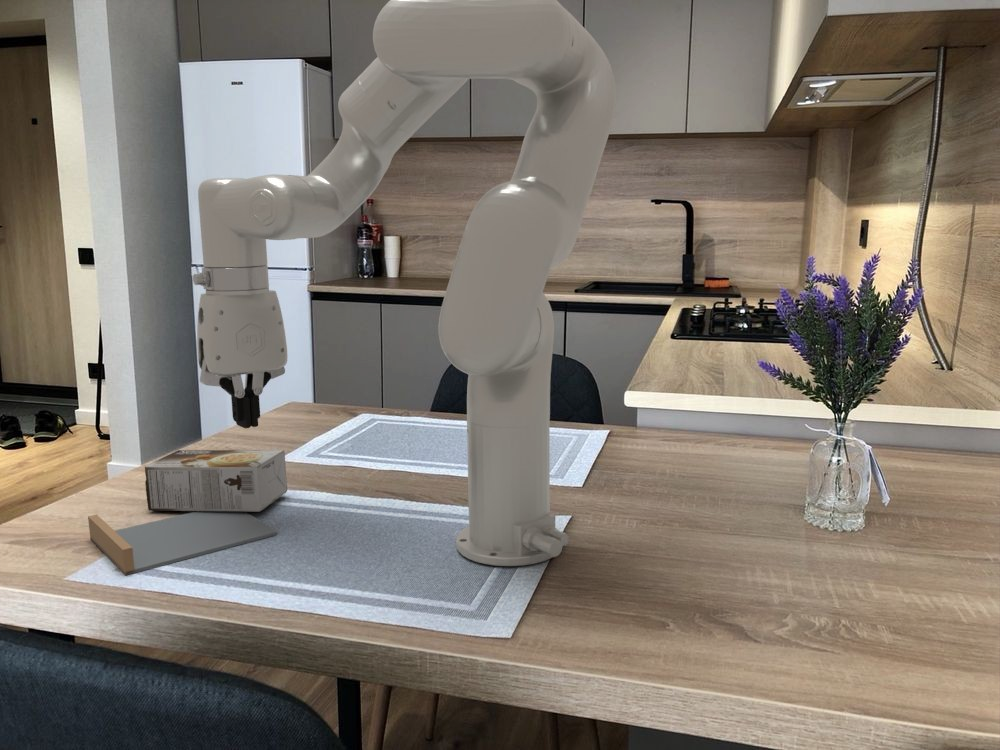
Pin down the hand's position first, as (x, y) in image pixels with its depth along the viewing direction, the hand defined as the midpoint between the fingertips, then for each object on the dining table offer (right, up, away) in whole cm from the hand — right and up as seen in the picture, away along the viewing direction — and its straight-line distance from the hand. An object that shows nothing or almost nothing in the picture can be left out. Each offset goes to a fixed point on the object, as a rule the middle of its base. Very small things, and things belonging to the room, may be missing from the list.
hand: (247, 425), depth 107 cm
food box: (+2, -8, +6) cm, 10 cm away
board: (-7, -14, -3) cm, 15 cm away
